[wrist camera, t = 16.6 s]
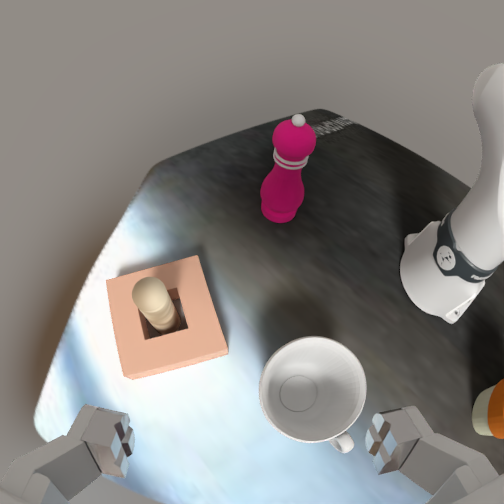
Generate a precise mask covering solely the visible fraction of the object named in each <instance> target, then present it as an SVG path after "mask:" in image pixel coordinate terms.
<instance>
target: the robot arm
mask: <svg viewBox="0 0 504 504" xmlns="http://www.w3.org/2000/svg"><path fill="white" fill-rule="evenodd" d="M472 106H473V112H474V116H475V118H476V121H477V124H478V127H479V131H480V135H481V141H482V161H481V168H480V171H479V174H478V177H477V179H476V181H475V183H474V185H473V186H472V188H471V190H470V191H469V193H468V194H467V196H466V197H465V198H464V200H463V201H462V202H461V204H460V205H459V206H458V207H457V208H454V209H452V210H451V212H450V213H448V214H447V215H446V216H445V217H444V218H443V220H442V221H441V222H440V221H437V222H434V221H432V222H431V223H429V224H428V225H427V226H426V227H425V228H424V229H423V230H422V231H421V232H420V233H417V234H409V235H408V236H407V237H406V238H405V251H404V254H403V256H402V259H401V263H400V275H401V280H402V283H403V286H404V288H405V291H406V292H407V294H408V296H409V297H410V299H411V300H412V301H413V302H414V304H415V305H416V306H418V307H419V308H420V309H421V310H423V311H425V312H426V313H429V314H432V315H436V316H440V317H442V318H443V319H444V320H445V321H447V322H448V323H450V324H453V323H454V322H456V321H457V320H458V319H459V317H460V316H461V315H462V314H463V312H464V311H465V310H466V309H467V307H468V306H469V305H470V304H471V302H472V301H473V300H474V299H475V297H476V296H477V295H478V293H479V292H480V291H481V289H482V288H483V286H484V285H485V279H487V278H488V277H489V276H491V275H492V274H493V272H494V271H495V270H496V269H497V268H498V266H499V264H500V263H501V262H503V261H504V63H499V64H495V65H492V66H490V67H488V68H486V69H485V70H484V71H483V72H482V73H481V74H480V75H479V76H478V78H477V80H476V82H475V85H474V88H473V93H472ZM129 422H130V419H129V416H128V414H126V413H123V412H118V411H113V410H109V409H104V408H100V407H95V406H91V405H87V404H85V405H84V406H83V407H82V408H81V410H80V412H79V414H78V415H77V417H76V419H75V421H74V423H73V424H72V426H71V428H70V430H69V432H68V434H67V436H64V435H62V436H60V437H58V438H56V439H54V440H52V441H51V442H49V443H47V444H45V445H43V446H41V447H39V448H37V449H35V450H33V451H31V452H29V453H27V454H25V455H23V456H21V457H19V458H17V459H14V460H13V461H12V463H11V465H10V467H9V468H8V470H7V472H6V474H5V476H4V477H3V479H2V481H1V483H0V504H70V503H69V502H68V501H69V500H70V499H72V498H73V497H74V496H75V495H77V494H78V493H79V492H81V491H82V490H83V489H84V488H86V487H87V486H88V485H89V484H91V482H93V481H94V480H96V479H97V478H98V477H99V476H100V475H102V474H101V473H103V474H107V475H112V476H116V477H121V478H125V477H126V473H127V470H128V467H129V462H128V459H127V457H129V456H130V455H131V454H132V453H133V450H134V443H135V437H134V432H133V429H132V428H131V427H130V426H129ZM372 422H373V424H374V425H372V426H371V427H370V428H369V429H368V431H367V434H366V441H365V442H366V447H367V450H368V452H369V453H370V454H372V455H373V456H374V459H373V461H372V462H373V464H374V466H375V468H376V471H377V473H378V475H380V474H384V473H388V472H392V471H396V470H399V471H400V472H401V473H402V474H404V475H405V476H406V477H408V478H409V479H411V480H412V481H413V482H415V483H416V484H417V485H419V486H420V487H422V488H423V489H424V490H426V491H427V492H429V493H430V494H431V495H433V496H432V497H431V498H430V499H429V500H428V501H427V502H426V503H425V504H504V473H503V474H502V475H500V476H499V475H498V473H497V472H496V471H495V469H494V468H493V466H492V465H491V463H490V462H489V461H488V459H487V458H486V456H485V455H484V454H482V453H480V452H477V451H475V450H473V449H471V448H468V447H466V446H464V445H462V444H460V443H458V442H455V441H453V440H451V439H449V438H447V437H445V436H443V435H441V434H439V433H436V434H434V432H433V431H432V429H431V428H430V426H429V425H428V423H427V422H426V420H425V419H424V417H423V416H422V415H421V413H420V412H419V410H418V409H417V407H415V406H409V407H405V408H399V409H395V410H390V411H385V412H380V413H377V414H375V415H374V417H373V420H372Z"/></svg>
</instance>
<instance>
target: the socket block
mask: <svg viewBox="0 0 504 504" xmlns="http://www.w3.org/2000/svg"><path fill="white" fill-rule="evenodd" d="M145 277H155V278H158V279H159V280H161V281H162V282H163V284H164V285H165V287H166V290H167V292H168V294H169V296H170V298H171V300H176V299H179V298H180V300H181V304H182V307H183V311H184V315H185V318H186V322H187V325H188V329H184V330H181V331H177V332H173V333H170V334H166V335H162V336H159V337H155V338H151V339H150V336H149V332H148V328H147V324H146V319H145V316H144V315H143V313H142V312H141V311H140V310H139V308H138V307H137V306H136V305H135V303H134V302H133V299H132V290H133V287H134V286H135V284H136V283H137V282H138V281H139V280H141V279H142V278H145ZM106 284H107V292H108V299H109V305H110V312H111V317H112V323H113V329H114V334H115V339H116V344H117V349H118V354H119V358H120V363H121V367H122V371H123V375H124V377H127V378H130V379H133V380H134V379H138V378H142V377H147V376H151V375H155V374H159V373H163V372H167V371H171V370H175V369H178V368H182V367H186V366H189V365H193V364H197V363H200V362H204V361H207V360H210V359H214V358H217V357H220V356H224V355H227V354H228V347H227V344H226V341H225V338H224V335H223V333H222V330H221V327H220V324H219V321H218V318H217V315H216V312H215V309H214V306H213V302H212V299H211V296H210V293H209V290H208V287H207V284H206V281H205V277H204V274H203V271H202V268H201V264H200V261H199V258H198V255H195V256H192V257H188V258H184V259H181V260H177V261H173V262H170V263H166V264H163V265H159V266H155V267H152V268H148V269H144V270H141V271H137V272H134V273H130V274H127V275H123V276H119V277H116V278H112V279H109V280H106Z"/></svg>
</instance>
